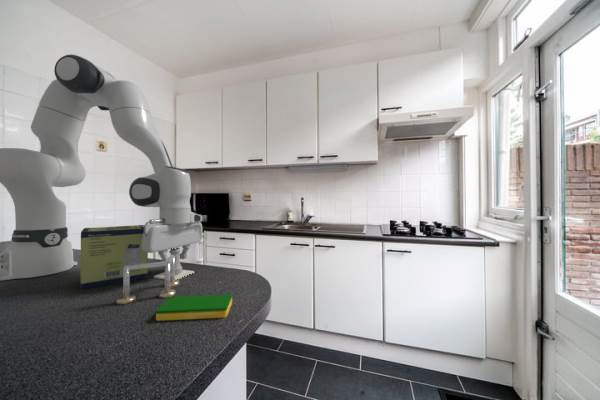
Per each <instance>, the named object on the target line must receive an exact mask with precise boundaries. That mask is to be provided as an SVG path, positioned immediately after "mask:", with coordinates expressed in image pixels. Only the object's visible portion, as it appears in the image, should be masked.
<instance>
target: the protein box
mask: <svg viewBox="0 0 600 400" xmlns="http://www.w3.org/2000/svg"><path fill="white" fill-rule="evenodd" d="M144 225H145V224H137V225H135V224H134V225H122V226H121V225H120V226H102V227H101V226H99V227H84V228H83V229H81V232H80V290H84V289H89V288H90V289H91V288H96V287H102V286H109V285H114V284H120V283H123V268H124V267H125V265H134V264H144V263H149V262H148V261H149V259H148V257H149V256H148V255H149V253H147V252H144V251H143V250H142V248H141V246H142V238H143V233H144ZM148 270H149V269H148V268H140V269H130V282H132V280H133V281H137V280H143V278H144V279H147V278H148V277H149V276H148V273H149V272H148Z"/></svg>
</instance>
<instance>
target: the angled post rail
mask: <svg viewBox="0 0 600 400" xmlns="http://www.w3.org/2000/svg"><path fill="white" fill-rule="evenodd" d="M158 267H160V268H161V267H164V272H165V279H164V290H161V291H160V292H159V293H158V297H159V298H160V299H169V298H170V297H175V296H176V290H175V289H171V288H172V287H176V286H179V285H180V280H179V279H178V280H175V256H174V255H171V254H170V255H169V256H168V259H167V261H166V262H162V261H157V262H148V263H144V264H134V265H125V267H124V268H123V282H122V289H123V290H122V296H120V297H117V298H116V304H117V305H118V306H119V305H120V306H124V305H128V304H131V303H134V302H135V301H136V299H137V298H136V295H135V294H130V285H131V284H130V282H131V281H130V269H140V268H158Z"/></svg>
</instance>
